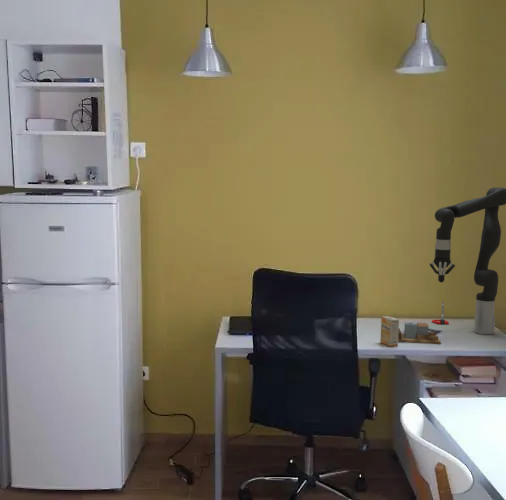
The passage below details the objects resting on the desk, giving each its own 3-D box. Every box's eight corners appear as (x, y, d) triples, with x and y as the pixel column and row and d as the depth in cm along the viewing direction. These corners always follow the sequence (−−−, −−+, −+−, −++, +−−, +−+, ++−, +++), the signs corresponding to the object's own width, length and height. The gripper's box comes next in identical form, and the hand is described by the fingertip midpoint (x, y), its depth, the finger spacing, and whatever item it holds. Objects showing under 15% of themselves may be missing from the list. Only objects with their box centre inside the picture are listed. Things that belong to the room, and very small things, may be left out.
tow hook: (429, 321, 366) (435, 324, 357) (430, 298, 365) (436, 301, 356) (444, 321, 367) (450, 324, 357) (445, 298, 366) (451, 301, 356)
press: (436, 337, 328) (437, 329, 328) (440, 344, 316) (441, 335, 316) (396, 336, 331) (396, 327, 330) (398, 342, 319) (398, 333, 318)
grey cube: (426, 335, 326) (426, 323, 325) (427, 338, 320) (428, 325, 319) (415, 335, 326) (416, 322, 326) (417, 338, 320) (418, 325, 320)
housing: (414, 336, 326) (415, 320, 325) (415, 338, 321) (416, 323, 320) (404, 335, 326) (404, 320, 325) (405, 338, 322) (405, 322, 321)
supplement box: (379, 342, 317) (380, 316, 316) (388, 341, 319) (389, 315, 318) (389, 347, 310) (390, 319, 308) (398, 346, 312) (399, 319, 310)
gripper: (430, 248, 328) (428, 282, 330) (457, 249, 326) (455, 283, 328) (428, 247, 335) (426, 280, 337) (455, 247, 333) (453, 281, 335)
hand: (441, 282), depth 333 cm, fingers closed
